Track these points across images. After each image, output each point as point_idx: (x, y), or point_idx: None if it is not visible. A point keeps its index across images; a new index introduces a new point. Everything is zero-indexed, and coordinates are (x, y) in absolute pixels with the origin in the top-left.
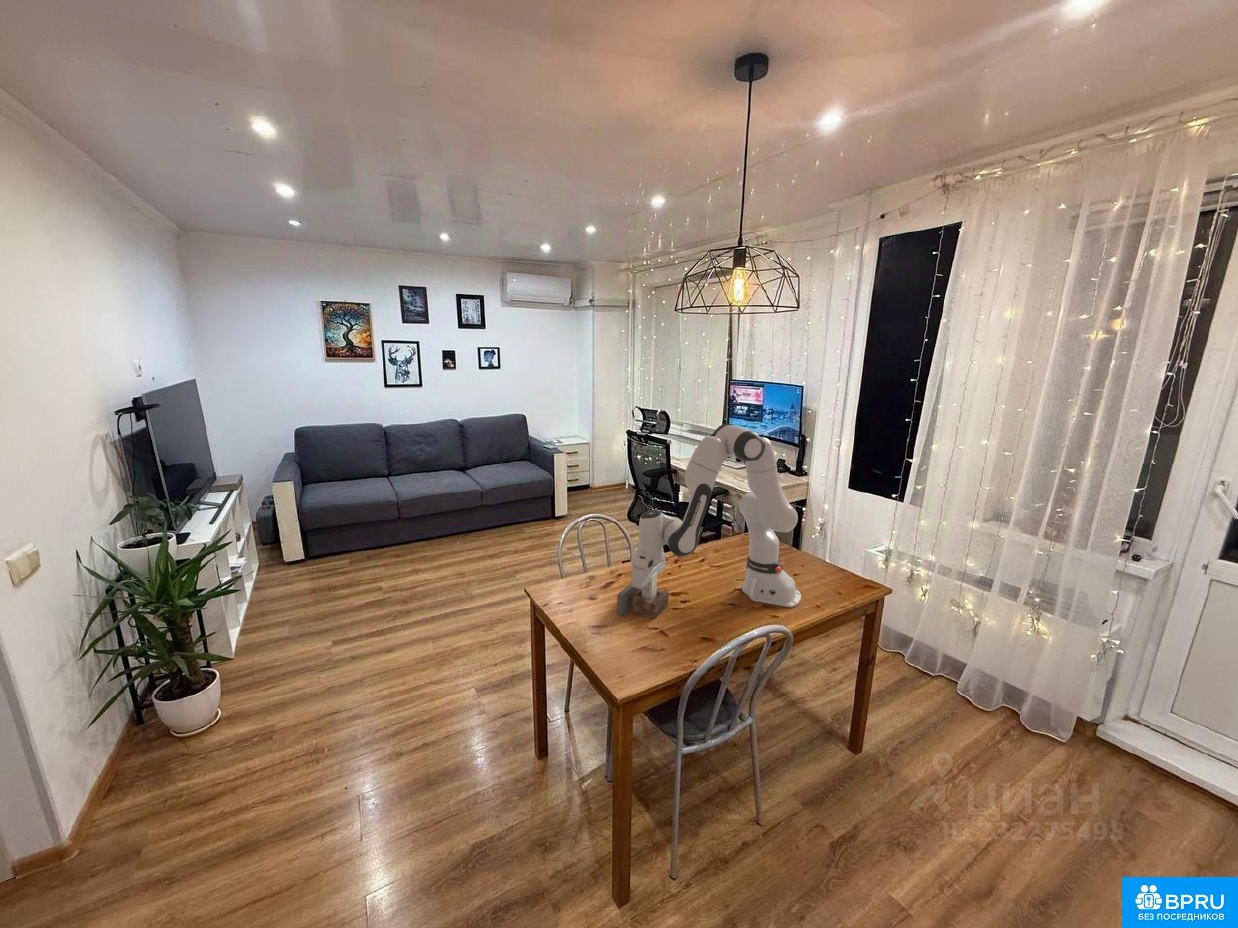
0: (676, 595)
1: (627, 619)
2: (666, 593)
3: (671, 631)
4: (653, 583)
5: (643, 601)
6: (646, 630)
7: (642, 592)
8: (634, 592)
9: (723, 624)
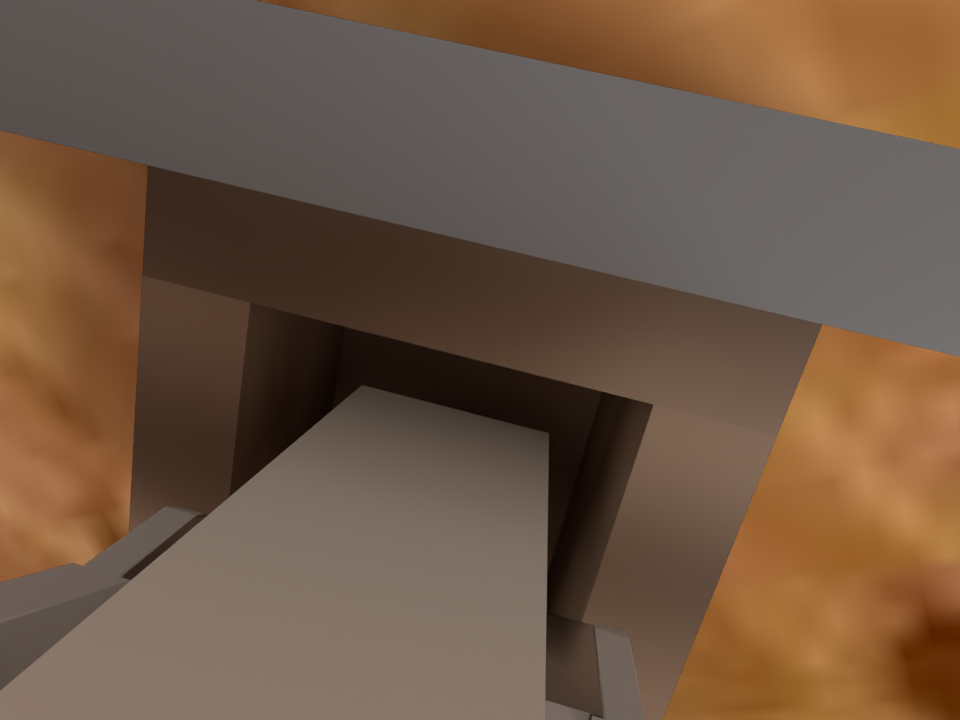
0: (909, 687)
1: (132, 240)
2: None
3: None
4: None
5: (136, 489)
6: (52, 489)
7: (302, 449)
8: (361, 239)
9: None
